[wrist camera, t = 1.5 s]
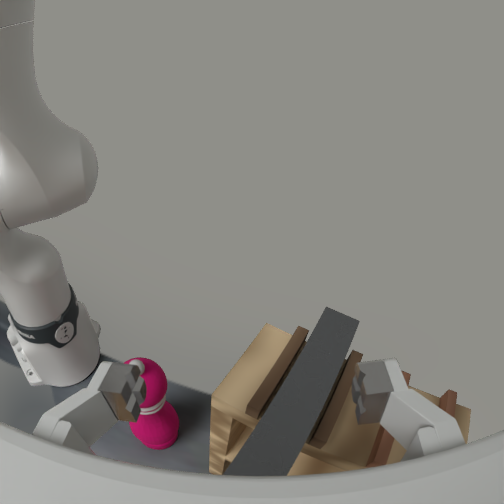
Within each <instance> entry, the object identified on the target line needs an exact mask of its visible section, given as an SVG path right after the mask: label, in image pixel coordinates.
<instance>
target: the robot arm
mask: <svg viewBox="0 0 504 504" xmlns="http://www.w3.org/2000/svg"><path fill="white" fill-rule="evenodd" d="M34 7H35V0H0V28H2V27H6V26H9V25H13V24H17V23H22V22H26V21H30V20H33V19H34ZM33 24H34V21H32V22H28V23H23V24H19V25H14V26H10V27H6V28H3V29H0V294H1V295H2V297H3V299H4V301H5V303H6V305H7V307H8V309H9V313H10V314H9V316H8V319H9V322H10V324H11V325H10V327H9V329H8V331H7V337H8V339H9V341H10V343H11V345H12V348H13V350H14V352H15V354H16V357H17V359H18V361H19V363H20V365H21V367H22V369H23V372H24V374H25V376H26V377H27V380H28V381H29V383H30V384H31V385H32V386H39V385H45V384H47V385H52V386H59V387H64V386H70V385H74V384H76V383H79V382H80V381H82V380H84V379H85V378H86V377H88V376H89V375H90V374H91V373H92V371H93V370H94V369H95V367H96V365H97V363H98V360H99V356H100V347H99V342H98V337H99V334H100V325H99V324H98V323H97V322H96V321H93V320H92V319H90V316H89V314H88V312H87V310H86V307H85V305H84V304H83V303H80V302H79V301H77V298H76V295H75V293H74V291H73V289H72V287H71V285H70V284H69V283H68V281H67V278H66V275H65V271H64V267H63V264H62V261H61V257H60V254H59V252H58V251H57V249H56V248H55V247H54V246H53V245H52V244H51V243H50V242H49V241H48V240H46V239H45V238H43V237H41V236H38V235H33V234H29V233H26V232H23V231H22V230H20V229H18V228H17V227H20V226H24V225H27V224H31V223H34V222H38V221H42V220H46V219H50V218H53V217H57V216H59V215H61V214H63V213H65V212H67V211H70V210H72V209H74V208H76V207H78V206H80V205H82V204H84V203H86V202H87V201H88V200H89V198H90V196H91V195H92V192H93V190H94V188H95V185H96V181H97V176H98V162H97V157H96V154H95V151H94V149H93V147H92V145H91V143H90V142H89V141H88V139H87V138H86V137H85V136H84V135H83V134H82V133H80V132H79V131H77V130H75V129H73V128H71V127H69V126H68V125H66V124H65V123H63V122H62V121H61V120H59V119H58V118H57V117H56V116H55V115H54V114H53V113H52V112H51V111H50V109H49V108H48V107H47V105H46V104H45V102H44V100H43V99H42V97H41V95H40V92H39V90H38V86H37V82H36V78H35V70H34V59H33ZM354 371H355V375H356V376H355V377H354V378H353V379H352V399H353V402H354V403H355V404H356V409H355V413H356V418H357V422H358V425H362V424H371V423H379V422H380V424H381V425H382V426H383V427H384V428H385V429H386V430H387V431H388V432H389V433H390V434H391V435H392V436H393V437H394V438H395V439H396V440H397V441H398V442H399V443H400V444H401V445H402V446H403V447H404V448H405V449H406V450H407V451H406V453H405V454H404V456H403V458H402V459H401V461H400V462H397V463H392V464H387V465H382V466H376V467H370V468H364V469H357V470H350V471H342V472H333V473H323V474H310V475H293V476H232V475H215V474H202V473H192V472H183V471H175V470H167V469H161V468H154V467H148V466H143V465H137V464H132V463H127V462H122V461H118V460H113V459H109V458H105V457H101V456H97V455H96V454H95V453H94V452H93V451H92V450H91V449H90V446H91V445H92V444H93V443H95V442H96V441H97V440H98V439H99V438H100V437H101V436H102V435H103V434H105V433H106V432H107V431H108V430H109V429H110V428H111V427H112V426H113V425H114V424H116V423H117V422H118V420H120V421H128V422H135V423H137V420H138V417H139V415H140V412H141V408H140V406H139V405H140V404H142V403H143V402H144V401H145V398H146V393H147V387H146V383H145V380H144V379H143V378H142V377H141V376H139V375H140V373H141V371H140V369H139V366H138V365H133V364H124V363H116V362H107V361H103V362H102V363H101V364H100V365H99V367H98V369H97V371H96V373H95V374H94V376H93V378H92V380H91V382H90V383H89V385H88V387H87V389H85V388H83V389H82V390H80V391H79V392H77V393H76V394H74V395H72V396H71V397H69V398H68V399H66V400H65V401H63V402H61V403H60V404H58V405H57V406H55V407H53V408H52V409H50V410H49V411H47V412H45V413H44V414H43V416H42V417H41V419H40V421H39V422H38V424H37V426H36V428H35V430H34V431H33V433H32V435H31V434H28V433H26V432H23V431H21V430H18V429H16V428H13V427H11V426H9V425H6V424H4V423H2V422H0V504H504V430H503V431H500V432H498V433H495V434H493V435H490V436H487V437H485V438H482V439H479V440H476V441H474V442H471V443H468V444H466V443H465V441H464V438H463V436H462V433H461V431H460V428H459V426H458V424H457V421H456V419H455V418H453V417H452V416H451V415H449V414H448V413H446V412H445V411H443V410H442V409H441V408H439V407H438V406H436V405H435V404H433V403H432V402H430V401H429V400H428V399H426V398H425V397H423V396H422V395H421V394H419V393H418V392H416V391H415V390H413V389H408V386H407V384H406V381H405V379H404V376H403V374H402V371H401V369H400V366H399V364H398V361H397V359H396V358H391V359H383V360H375V361H368V362H359V363H356V365H355V369H354ZM31 374H32V375H31Z"/></svg>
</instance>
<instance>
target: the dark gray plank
mask: <svg viewBox="0 0 504 504" xmlns="http://www.w3.org/2000/svg"><path fill="white" fill-rule="evenodd" d="M358 324H359V321H358V320H356V319H353V318H351V317H349V316H346V315H344V314H342V313H339V312H337V311H335V310H333V309H330V308H328V307H326V308H325V310H324V312H323V314H322V316H321V318H320V319H319V321H318V323H317V325H316V327H315V329H314V331H313V332H312V334H311V336H310V338H309V339H308V341H307V343H306V345H305V347H304V348H303V350H302V352H301V354H300V355H299V357H298V359H297V360H296V362H295V364H294V366H293V367H292V369H291V371H290V372H289V374H288V376H287V377H286V379H285V381H284V382H283V384H282V386H281V387H280V389H279V391H278V392H277V394H276V396H275V397H274V399H273V400H272V402H271V404H270V405H269V407H268V408H267V410H266V411H265V413H264V415H263V416H262V418H261V419H260V421H259V422H258V424H257V425H256V427H255V429H254V430H253V432H252V433H251V435H250V436H249V438H248V439H247V441H246V442H245V444H244V445H243V446H242V448H241V449H240V451H239V452H238V454H237V455H236V457H235V458H234V460H233V461H232V462H231V464H230V465H229V467H228V468H227V469H226V471H225V472H224V474H223V475H232V476H287V475H288V473H289V471H290V469H291V468H292V466H293V464H294V462H295V460H296V459H297V457H298V455H299V453H300V451H301V449H302V448H303V446H304V444H305V442H306V440H307V438H308V436H309V434H310V432H311V430H312V428H313V426H314V424H315V422H316V420H317V418H318V416H319V414H320V412H321V410H322V408H323V406H324V404H325V402H326V400H327V397H328V395H329V393H330V391H331V389H332V386H333V384H334V382H335V380H336V378H337V375H338V373H339V371H340V368H341V366H342V364H343V361H344V359H345V356H346V354H347V352H348V349H349V347H350V344H351V342H352V339H353V337H354V334H355V331H356V329H357V327H358Z"/></svg>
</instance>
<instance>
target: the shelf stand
mask: <svg viewBox="0 0 504 504" xmlns="http://www.w3.org/2000/svg"><path fill="white" fill-rule="evenodd" d="M308 332H309V330H307V329H305V328H302V327H300V326H298V327H297V329H296V331H295V333H294V334H293V335H291V334H289V333H286V332H284V331H282V330H280V329H278V328H276V327H274V326H272V325H270V324H267V323H266V324H265V326H264V327H263V328H262V330H261V331H260V333H259V334H258V335H257V337H256V338H255V339H254V340H253V342H252V343H251V344H250V346H249V347H248V348H247V350H246V351H245V352H244V354H243V355H242V356H241V358H240V359H239V360H238V362H237V363H236V364H235V366H234V367H233V368H232V369H231V371H230V372H229V373H228V375H227V376H226V377H225V378H224V380H223V381H222V382H221V383H220V385H219V386H218V387H217V388H216V390H215V391H214V392H213V394H212V398H211V425H210V461H209V472H210V473H212V474H215V475H223V474H224V472H225V471H226V469H227V468H228V467H229V465H230V464H231V462H232V461H233V460H234V458H235V457H236V455H237V454H238V452H239V451H240V449H241V448H242V446H243V445H244V444H245V442H246V441H247V439H248V438H249V436H250V435H251V433H252V432H253V430H254V429H255V427H256V425H257V424H258V422H259V421H260V419H261V418H262V416H263V415H264V413H265V411H266V410H267V408H268V407H269V405H270V404H271V402H272V400H273V399H274V397H275V396H276V394H277V392H278V391H279V389H280V387H281V386H282V384H283V382H284V381H285V379H286V377H287V376H288V374H289V372H290V371H291V369H292V367H293V366H294V364H295V362H296V360H297V359H298V357H299V355H300V354H301V352H302V350H303V348H304V347H305V345H306V343H307V342H306V341H305V339H306V337H307V334H308ZM362 356H363V354H361V353H359V352H356V351H354V350H352V352H351V354H350V356H349V357H348V359H347V360H346V359H344V361H343V364H342V366H341V368H340V371H339V373H338V375H337V378H336V380H335V382H334V384H333V386H332V389H331V391H330V393H329V395H328V397H327V400H326V402H325V404H324V406H323V408H322V410H321V412H320V414H319V416H318V418H317V420H316V422H315V424H314V426H313V428H312V430H311V432H310V434H309V436H308V438H307V440H306V442H305V444H304V446H303V448H302V449H301V451H300V453H299V455H298V457H297V459H296V460H295V462H294V464H293V466H292V468H291V469H290V471H289V473H288V475H287V476H293V475H310V474H323V473H333V472H342V471H350V470H357V469H364V468H370V467H376V466H382V465H387V464H392V463H397V462H400V461H401V459H402V458H403V456H404V454H405V453H406V451H407V450H406V449H405V448H404V447H403V446H402V445H401V444H400V443H399V442H398V441H397V440H396V439H395V438H394V437H393V436H392V435H391V434H390V433H389V432H388V431H387V430H386V429H385V428H384V427H383V426H382V425H381V424H380V422H379V423H371V424H362V425H358V422H357V418H356V413H355V409H356V404H355V403H354V402H353V399H352V379H353V378H354V377H355V376H356V375H355V371H354V369H355V365H356V363H359V362H360V361H361V359H362ZM402 374H403V376H404V379H405V381H406V384H407V386H408V384H409V380H410V374H409V373H406V372H404V371H402ZM408 389H413V390H415V391H416V392H418V393H419V394H421V395H422V396H423V397H425V398H426V399H428V400H429V401H430V402H432V403H433V404H435V405H436V406H438V407H439V408H441V409H442V410H443V411H445V412H446V413H448V414H449V415H451V416H452V417H453V418H455V419H456V421H457V424H458V426H459V428H460V431H461V433H462V436H463V438H464V441H465V443H466V444H467V440H468V433H469V423H470V414H471V409H469V408H466V407H463V406H460V405H458V404H456V399H457V392H454V391H452V390H448V391H447V392H446V393H445V394H444V395H443V396H442V397H441V398H439V397H436V396H434V395H431V394H428V393H426V392H423V391H421V390H418V389H415V388H413V387H411V386H408Z"/></svg>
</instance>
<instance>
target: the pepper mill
mask: <svg viewBox="0 0 504 504" xmlns="http://www.w3.org/2000/svg"><path fill="white" fill-rule="evenodd" d="M124 364H133V365H138V366H139V369H140V371H141V373H140V375H139V376H141V377H142V378H143V379H144V380H145V383H146V387H147V393H146V398H145V401H144V402H143V403H142V404H140V405H139V406H140V408H141V412H140V415H139V417H138V420H137V423H135V422H129V424H130V427H131V430H132V432H133V434H134V435H135V436H136V437H137V438H138V439H139V440H141V441H142V443H143V444H144V445H146V446H147V447H149V448H152V449H157V450H160V449H165V448H168V447H170V446H171V445H172V444H173V443H174V442H175V441H176V439H177V436H178V428H179V418H178V415H177V413H176V411H175V409H174V408H173V407H172V405H171V404H170V403H168V402H167V401H166V395H165V394H166V390H167V379H166V376H165V373H164V372H163V370H162V369H161V367H160V366H159V365H158V364H157V363H155V362H154V361H152V360H150V359H147V358H133V359H130V360H128V361H126V362H124Z"/></svg>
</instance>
